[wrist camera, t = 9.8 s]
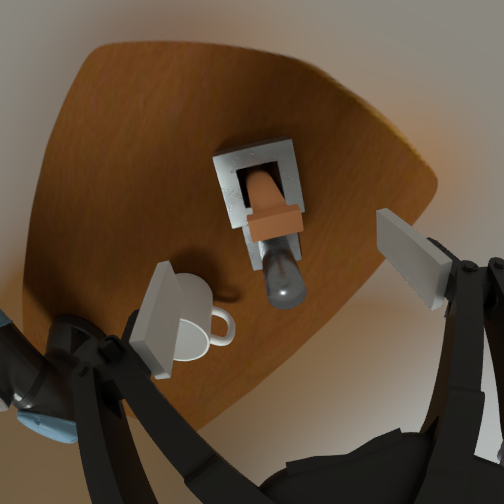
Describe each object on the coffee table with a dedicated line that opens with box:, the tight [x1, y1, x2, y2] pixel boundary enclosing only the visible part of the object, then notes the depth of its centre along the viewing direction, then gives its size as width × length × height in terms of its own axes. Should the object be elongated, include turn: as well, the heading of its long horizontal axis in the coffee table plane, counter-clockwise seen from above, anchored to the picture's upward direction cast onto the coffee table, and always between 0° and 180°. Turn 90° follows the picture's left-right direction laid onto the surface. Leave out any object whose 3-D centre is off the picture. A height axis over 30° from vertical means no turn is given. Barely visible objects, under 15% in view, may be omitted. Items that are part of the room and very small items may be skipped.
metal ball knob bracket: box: [213, 136, 307, 309], centre depth 30 cm, size 9×17×12 cm, turn 13°
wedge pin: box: [244, 164, 304, 243], centre depth 27 cm, size 4×3×15 cm
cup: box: [173, 273, 235, 361], centre depth 37 cm, size 8×12×10 cm
